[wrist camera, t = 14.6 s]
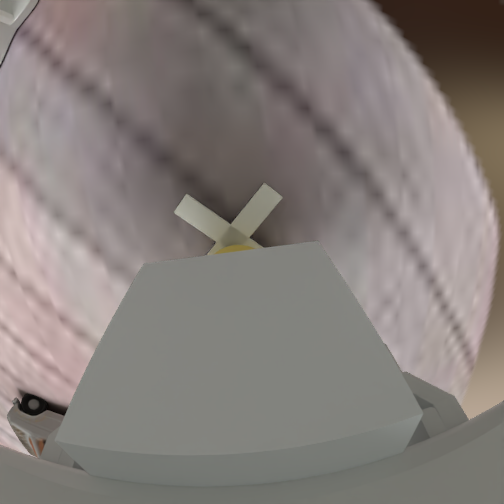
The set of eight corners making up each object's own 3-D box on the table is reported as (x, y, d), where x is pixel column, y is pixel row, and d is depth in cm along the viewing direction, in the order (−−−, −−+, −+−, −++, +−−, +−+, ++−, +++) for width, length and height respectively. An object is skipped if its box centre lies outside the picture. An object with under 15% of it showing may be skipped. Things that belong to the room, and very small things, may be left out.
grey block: (143, 263, 12) (54, 439, 4) (318, 240, 12) (423, 412, 4) (184, 383, 15) (166, 531, 7) (318, 367, 15) (361, 514, 7)
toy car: (17, 386, 28) (-10, 438, 19) (186, 433, 32) (181, 502, 23) (37, 425, 33) (19, 472, 24) (183, 464, 36) (180, 520, 27)
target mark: (147, 251, 21) (146, 252, 21) (219, 149, 19) (219, 149, 19) (244, 312, 24) (244, 313, 24) (321, 227, 21) (321, 228, 21)
